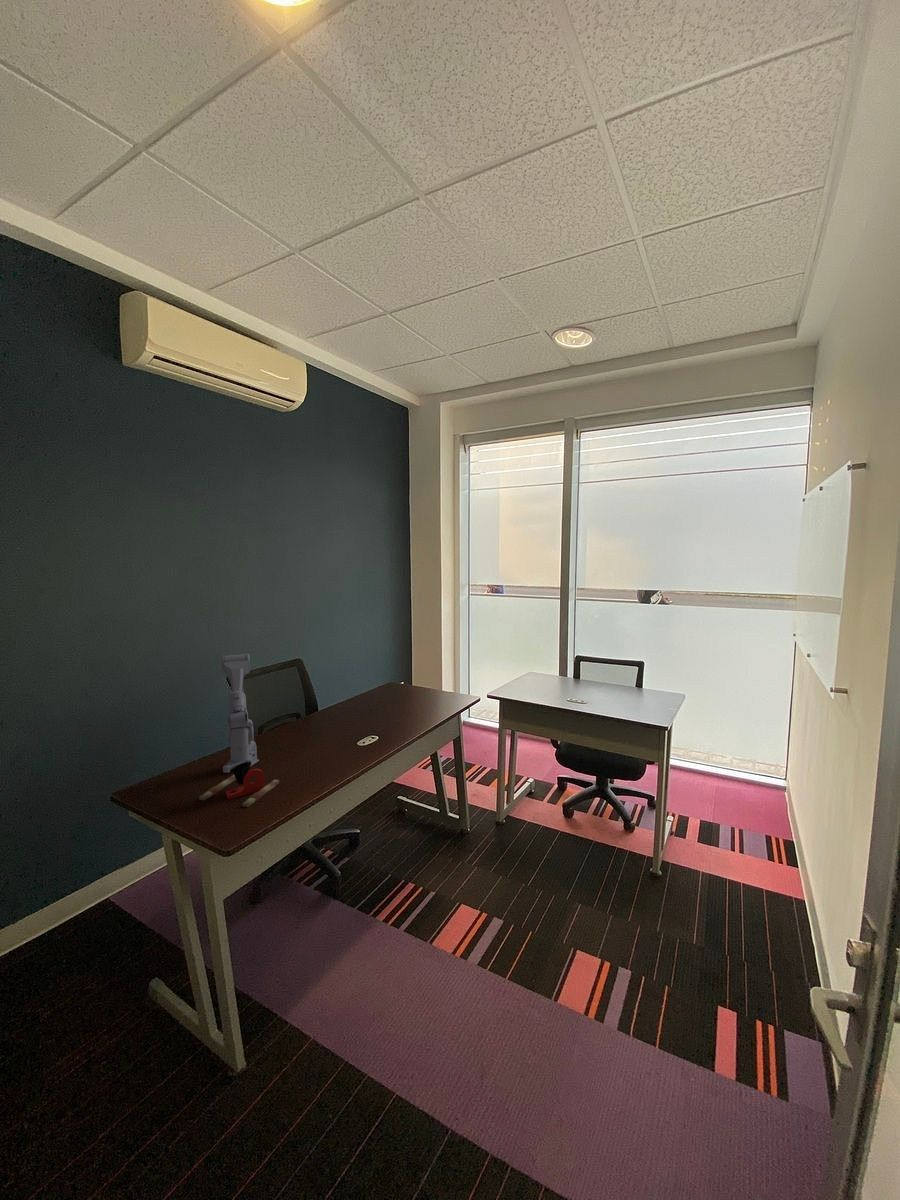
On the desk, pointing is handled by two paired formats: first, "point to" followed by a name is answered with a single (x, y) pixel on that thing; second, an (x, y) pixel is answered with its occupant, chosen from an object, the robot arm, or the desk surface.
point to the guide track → (247, 802)
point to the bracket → (248, 784)
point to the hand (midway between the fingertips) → (241, 783)
